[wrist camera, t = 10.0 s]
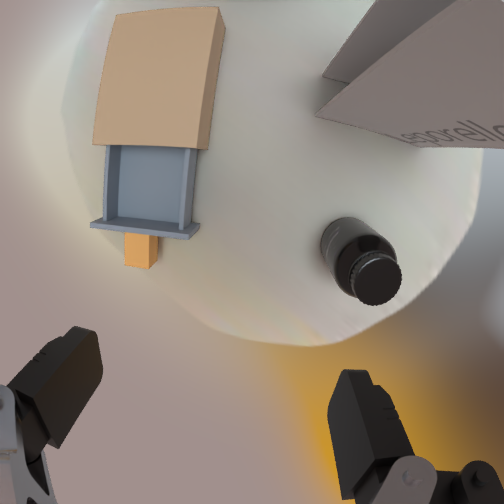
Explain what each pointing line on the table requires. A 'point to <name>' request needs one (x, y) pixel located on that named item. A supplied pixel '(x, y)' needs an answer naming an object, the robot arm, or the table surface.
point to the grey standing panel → (424, 73)
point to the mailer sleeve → (160, 78)
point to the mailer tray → (148, 197)
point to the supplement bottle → (361, 261)
